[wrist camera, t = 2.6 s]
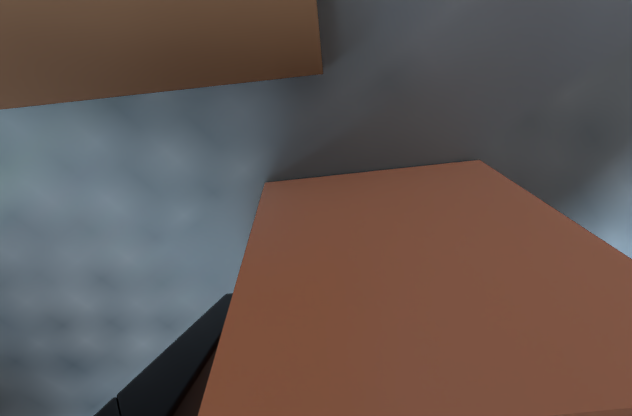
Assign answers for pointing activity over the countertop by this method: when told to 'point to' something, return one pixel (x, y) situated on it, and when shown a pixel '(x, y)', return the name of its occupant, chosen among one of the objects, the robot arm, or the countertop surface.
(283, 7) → the stand
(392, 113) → the countertop surface
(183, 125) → the countertop surface
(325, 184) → the salmon orange block
